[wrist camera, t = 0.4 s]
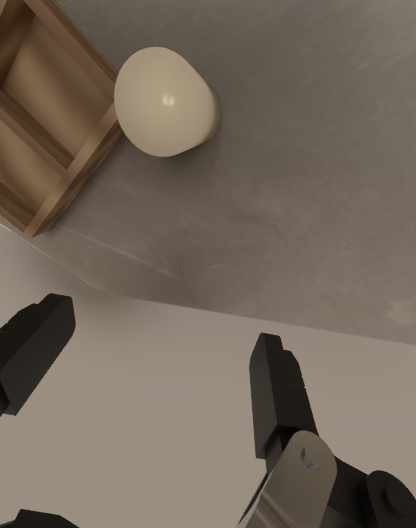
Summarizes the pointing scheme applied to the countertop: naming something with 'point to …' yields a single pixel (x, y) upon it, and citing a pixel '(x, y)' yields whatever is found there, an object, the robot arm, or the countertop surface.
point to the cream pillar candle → (164, 103)
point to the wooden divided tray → (50, 112)
